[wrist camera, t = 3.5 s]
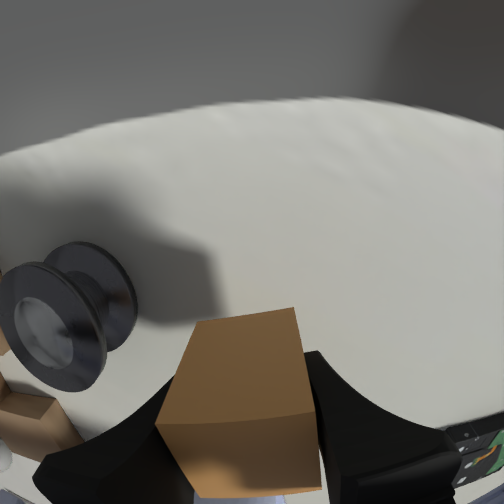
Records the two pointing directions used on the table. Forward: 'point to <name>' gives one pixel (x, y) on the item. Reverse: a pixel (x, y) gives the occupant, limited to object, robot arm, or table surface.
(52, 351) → the bobbin
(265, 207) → the table surface
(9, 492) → the marker
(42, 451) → the notched board
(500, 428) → the disk drive
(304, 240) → the table surface
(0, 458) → the molecule model
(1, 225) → the table surface
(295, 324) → the orange rectangular block
